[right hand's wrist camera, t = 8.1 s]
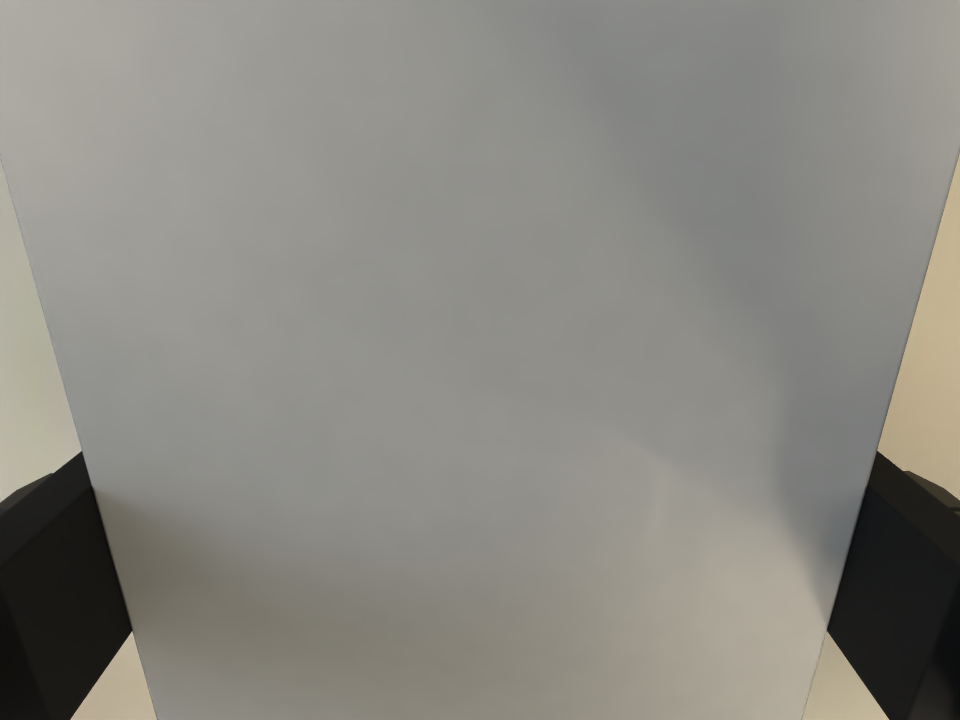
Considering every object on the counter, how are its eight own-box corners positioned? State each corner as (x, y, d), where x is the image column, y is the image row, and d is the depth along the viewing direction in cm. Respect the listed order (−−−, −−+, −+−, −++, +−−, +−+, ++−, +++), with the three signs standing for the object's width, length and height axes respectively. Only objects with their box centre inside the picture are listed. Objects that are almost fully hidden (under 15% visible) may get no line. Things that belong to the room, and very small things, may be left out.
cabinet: (233, -158, 13) (-257, -746, 4) (725, -159, 13) (1215, -747, 4) (311, 486, 19) (171, 779, 10) (647, 486, 19) (788, 779, 10)
